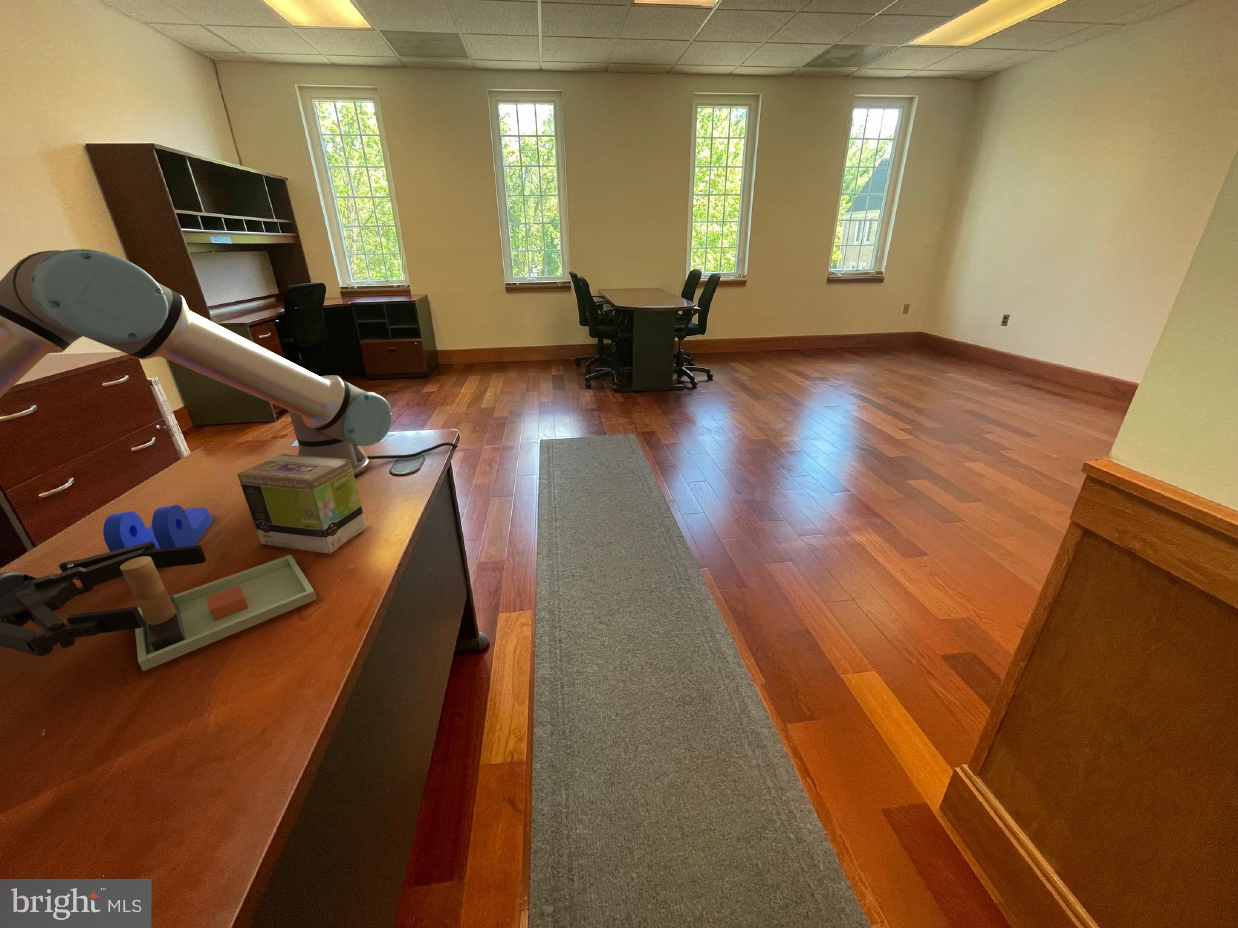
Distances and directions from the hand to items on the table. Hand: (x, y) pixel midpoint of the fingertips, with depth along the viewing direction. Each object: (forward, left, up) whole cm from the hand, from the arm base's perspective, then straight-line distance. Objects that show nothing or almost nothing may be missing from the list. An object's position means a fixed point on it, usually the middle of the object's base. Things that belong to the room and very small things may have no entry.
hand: (173, 582), depth 64 cm
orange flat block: (-4, -2, -8) cm, 9 cm away
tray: (-4, -2, -8) cm, 10 cm away
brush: (+3, -2, -8) cm, 8 cm away
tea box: (-19, -16, -9) cm, 26 cm away
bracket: (0, -33, -9) cm, 34 cm away
